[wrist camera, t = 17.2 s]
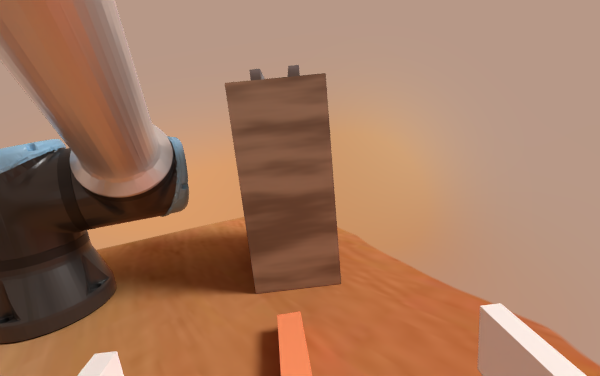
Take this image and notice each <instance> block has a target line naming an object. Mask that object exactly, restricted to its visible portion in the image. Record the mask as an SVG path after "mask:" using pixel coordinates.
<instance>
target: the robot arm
mask: <svg viewBox="0 0 600 376" xmlns="http://www.w3.org/2000/svg"><path fill="white" fill-rule="evenodd" d="M0 61H1V62H2V64H3V65H4V66H5V67H6V69H7V70H8V71H9V72H10V74H11V75H12V76H13V77H14V79H15V80H16V81H17V82H18V84H19V85H20V86H21V87H22V89H23V90H24V91H25V92H26V94H27V95H28V96H29V97H30V99H31V100H32V101H33V102H34V104H35V105H36V106H37V107H38V109H39V110H40V111H41V113H42V114H43V115H44V116H45V118H46V119H47V120H48V121H49V123H50V124H51V125H52V126H53V128H54V129H55V130H56V131H57V133H58V134H59V135H60V136H61V138H62V139H63V140H64V141H65V143H66V144H67V145H68V146H69V149H65V148H66V147H65V144H63V143H62V141H61V140H59V139H52V140H45V141H39V142H34V143H29V144H23V145H17V146H12V147H7V148H2V149H0V343H10V342H17V341H23V340H27V339H31V338H35V337H38V336H41V335H44V334H47V333H50V332H53V331H55V330H58V329H60V328H63V327H65V326H67V325H69V324H72V323H74V322H76V321H78V320H80V319H81V318H83V317H85V316H87V315H88V314H90V313H92V312H93V311H95V310H96V309H98V308H99V307H100V306H102V305H103V304H104V303H105V302H106V301H108V300H109V299H110V297H111V296H112V295H113V294H114V292H115V290H116V282H115V278H114V275H113V272H112V270H111V269H110V268H109V267H108V265H107V264H106V263H105V261H104V260H103V259H102V257H101V256H100V255H99V254H98V252H97V251H96V250H95V249H94V247H93V246H92V244H91V242H90V239H89V236H88V232H87V230H89V229H95V228H99V227H104V226H109V225H115V224H120V223H125V222H131V221H136V220H141V219H146V218H152V217H157V216H162V217H163V216H167V215H169V214H171V213H175V212H179V211H182V210H183V209H185V207H186V206H187V204H188V199H189V187H188V174H187V166H186V159H185V154H184V150H183V146H182V144H181V142H180V140H179V139H177V138H175V137H169V136H166V135H165V133H164V132H163V131H162V130H160V129H159V128H158V127H156V126H155V125H153V124H152V122H151V118H150V115H149V112H148V108H147V105H146V102H145V99H144V96H143V92H142V89H141V85H140V82H139V79H138V76H137V72H136V69H135V66H134V62H133V59H132V56H131V53H130V49H129V46H128V43H127V40H126V36H125V33H124V30H123V26H122V23H121V20H120V16H119V13H118V10H117V7H116V3H115V0H0ZM478 370H479V371H480V372H481V374H482V375H483V376H586V375H585V374H584V373H583V372H581V371H580V370H579V369H578V368H577V367H575V366H574V365H573V364H572V363H571V362H569V361H568V360H567V359H566V358H565V357H564V356H562V355H561V354H560V353H559V352H558V351H556V350H555V349H554V348H553V347H552V346H550V345H549V344H548V343H547V342H546V341H545V340H543V339H542V338H541V337H540V336H539V335H537V334H536V333H535V332H534V331H533V330H532V329H530V328H529V327H528V326H527V325H526V324H524V323H523V322H522V321H521V320H520V319H518V318H517V317H516V316H515V315H514V314H513V313H511V312H510V311H509V310H508V309H507V308H505V307H504V306H503V305H502V304H492V305H484V306H480V322H479V347H478ZM77 376H124V375H123V371H122V368H121V364H120V360H119V357H118V353H117V351H115V352H107V353H99V354H94V356H93V357H92V358H91V359H90V361H89V362H88V363H87V364H86V366H85V367H84V368H83V369H82V371H81V372H80V373H79V374H78V375H77Z"/></svg>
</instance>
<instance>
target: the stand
mask: <svg viewBox="0 0 600 376" xmlns="http://www.w3.org/2000/svg"><path fill="white" fill-rule="evenodd" d="M250 77H251V81H242V82H231V83H225V88H226V95H227V101H228V108H229V115H230V122H231V129H232V136H233V142H234V149H235V156H236V162H237V169H238V176H239V182H240V190H241V196H242V203H243V210H244V217H245V223H246V230H247V237H248V244H249V250H250V257H251V264H252V270H253V277H254V284H255V291H256V294H258V293H266V292H275V291H283V290H292V289H300V288H309V287H317V286H326V285H334V284H341V275H340V262H339V248H338V235H337V221H336V208H335V194H334V183H333V169H332V155H331V141H330V127H329V114H328V101H327V88H326V74H325V73H323V74H313V75H303V76H300V75H299V66H298V65H295V66H288V77H282V78H272V79H264V77H263V75H262V73H261V70H260V69H254V70H250Z"/></svg>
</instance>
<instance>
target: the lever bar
mask: <svg viewBox="0 0 600 376" xmlns="http://www.w3.org/2000/svg"><path fill="white" fill-rule="evenodd" d="M277 319H278V335H279V352H280V369H281V376H312V372H311V366H310V361H309V355H308V350H307V345H306V339H305V334H304V328H303V323H302V317H301V312H300V311H299V312H293V313H287V314H280V315H277Z"/></svg>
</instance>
